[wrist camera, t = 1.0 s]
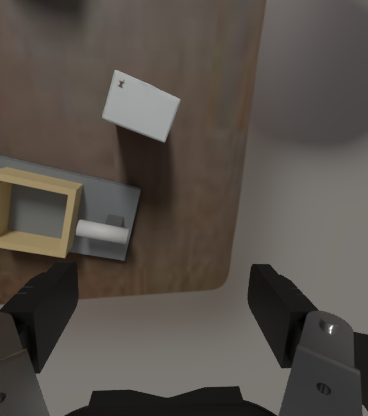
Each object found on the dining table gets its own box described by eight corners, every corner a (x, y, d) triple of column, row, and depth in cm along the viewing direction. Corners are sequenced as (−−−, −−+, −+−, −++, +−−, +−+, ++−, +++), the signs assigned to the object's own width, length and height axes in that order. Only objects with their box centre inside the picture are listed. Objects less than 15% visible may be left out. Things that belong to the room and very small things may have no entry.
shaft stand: (-57, 225, 33) (-101, 245, 27) (-55, 142, 30) (-102, 145, 24) (125, 256, 38) (121, 278, 32) (140, 187, 36) (140, 198, 30)
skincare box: (114, 122, 33) (98, 117, 21) (124, 89, 32) (113, 66, 20) (158, 139, 34) (165, 144, 23) (169, 108, 33) (182, 97, 22)
